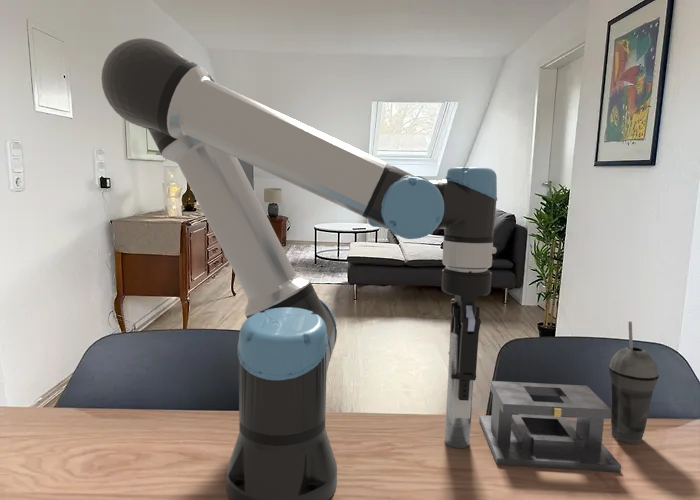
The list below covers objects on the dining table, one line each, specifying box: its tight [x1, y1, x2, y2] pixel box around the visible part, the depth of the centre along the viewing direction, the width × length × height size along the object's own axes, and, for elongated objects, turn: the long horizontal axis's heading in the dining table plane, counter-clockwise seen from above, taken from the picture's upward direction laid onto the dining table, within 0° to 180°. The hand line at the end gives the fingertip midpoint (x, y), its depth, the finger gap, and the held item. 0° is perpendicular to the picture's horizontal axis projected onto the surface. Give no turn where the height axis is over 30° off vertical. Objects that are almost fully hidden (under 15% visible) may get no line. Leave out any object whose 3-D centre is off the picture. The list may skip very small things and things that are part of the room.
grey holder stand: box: [478, 380, 622, 473], centre depth 80 cm, size 18×14×8 cm
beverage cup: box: [608, 321, 660, 445], centre depth 82 cm, size 7×7×20 cm
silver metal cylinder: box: [444, 332, 478, 449], centre depth 79 cm, size 4×4×18 cm
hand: (458, 410), depth 79 cm, fingers closed on silver metal cylinder, 4 cm apart
